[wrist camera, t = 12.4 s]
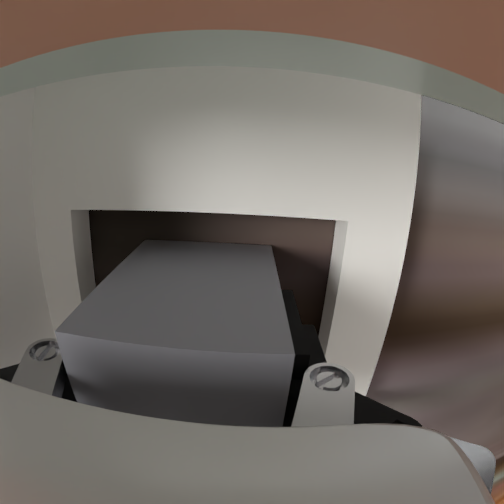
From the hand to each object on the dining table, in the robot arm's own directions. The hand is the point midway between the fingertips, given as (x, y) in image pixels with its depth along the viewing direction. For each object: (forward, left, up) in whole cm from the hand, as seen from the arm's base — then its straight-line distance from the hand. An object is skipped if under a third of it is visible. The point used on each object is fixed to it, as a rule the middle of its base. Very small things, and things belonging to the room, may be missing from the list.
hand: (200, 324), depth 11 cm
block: (0, 0, -2) cm, 2 cm away
